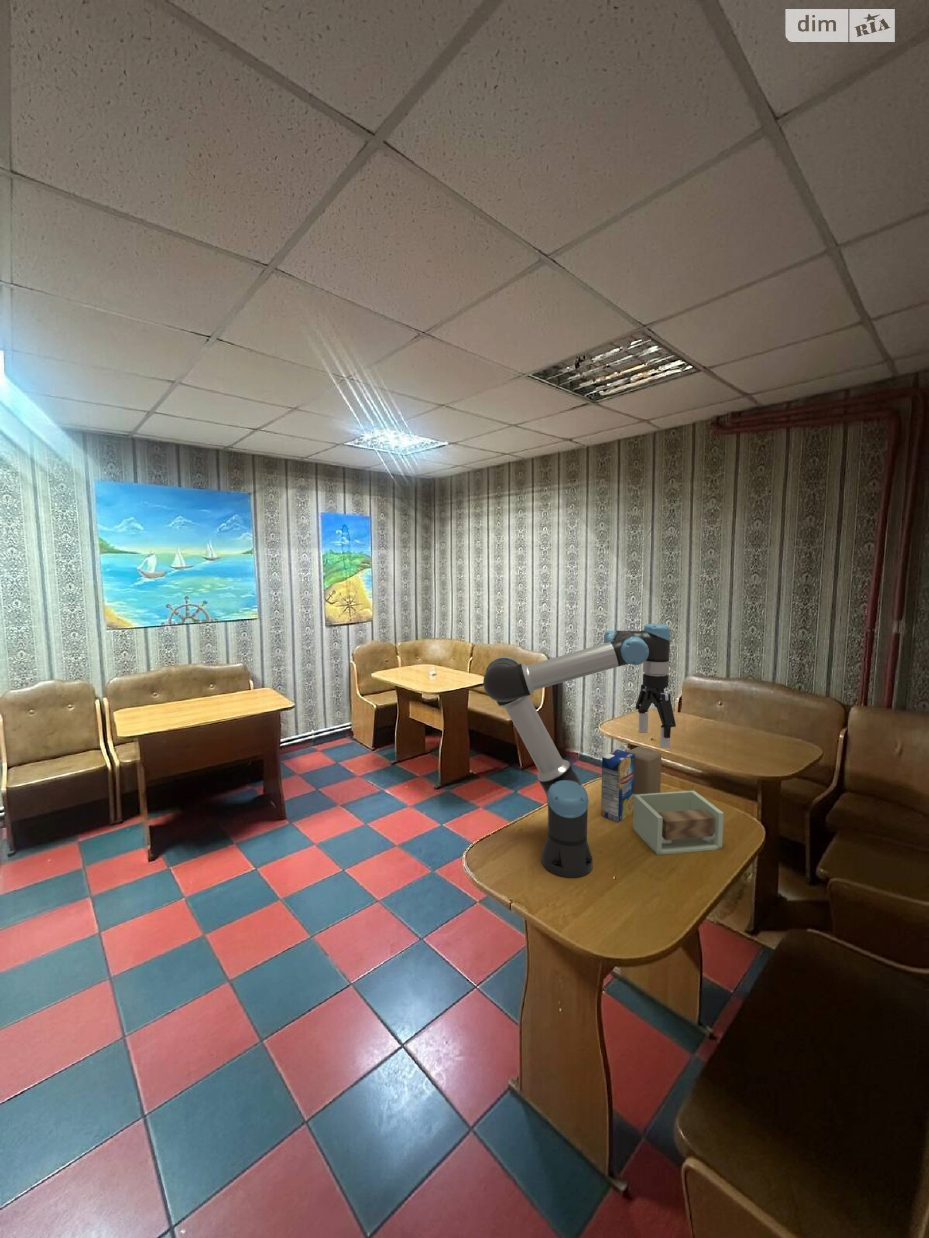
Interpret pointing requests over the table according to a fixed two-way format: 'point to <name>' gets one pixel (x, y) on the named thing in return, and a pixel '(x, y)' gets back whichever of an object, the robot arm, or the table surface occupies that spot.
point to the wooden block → (646, 771)
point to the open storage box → (650, 804)
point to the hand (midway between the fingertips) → (653, 739)
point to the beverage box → (617, 785)
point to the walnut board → (686, 824)
